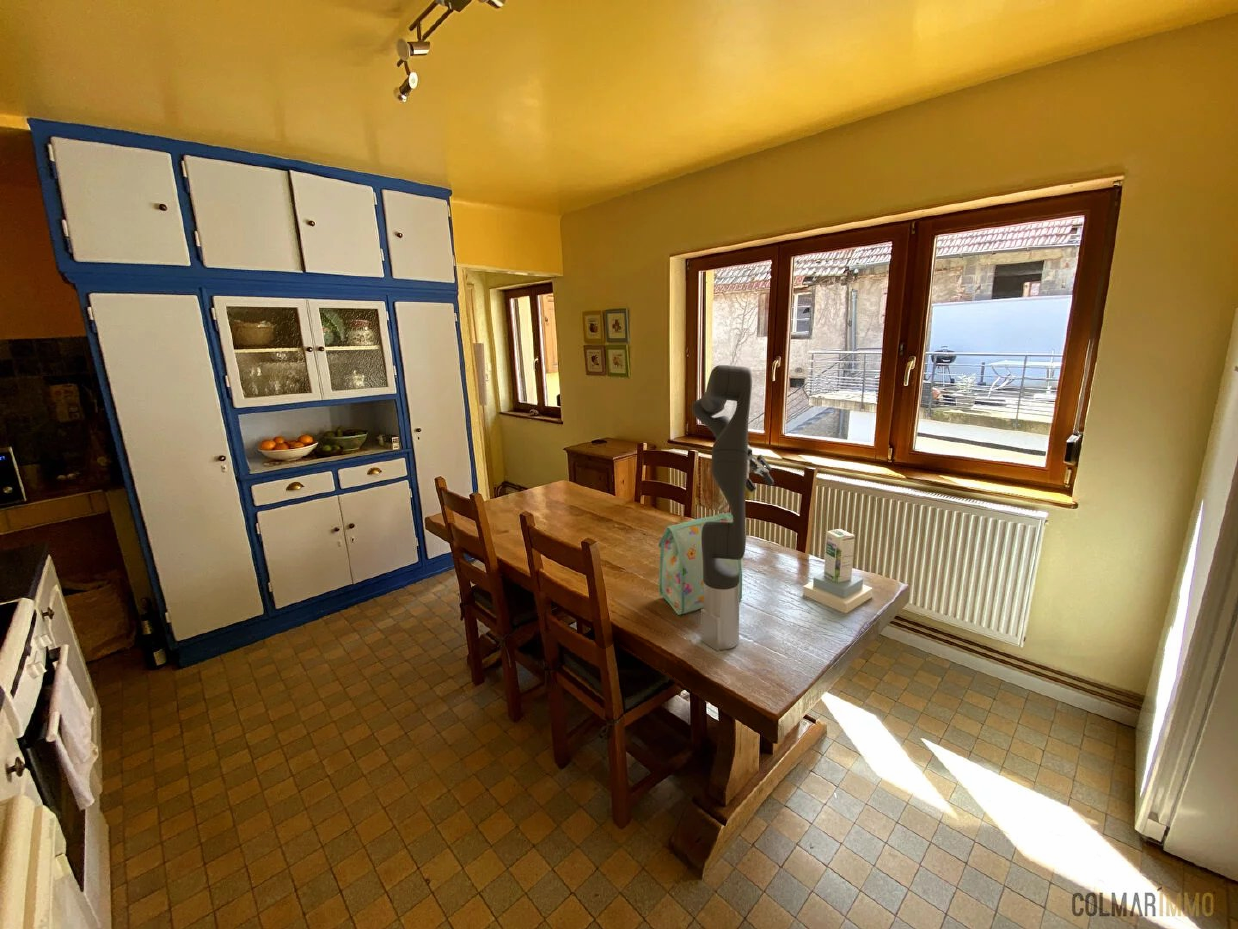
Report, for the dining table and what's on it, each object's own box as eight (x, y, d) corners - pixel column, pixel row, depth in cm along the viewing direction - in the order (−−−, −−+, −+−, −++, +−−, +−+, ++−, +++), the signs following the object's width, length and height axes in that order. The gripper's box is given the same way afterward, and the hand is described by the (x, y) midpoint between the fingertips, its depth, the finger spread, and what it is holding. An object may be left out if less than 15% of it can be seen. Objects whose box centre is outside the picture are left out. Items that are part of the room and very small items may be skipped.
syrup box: (822, 575, 154) (825, 531, 150) (838, 571, 156) (841, 527, 152) (836, 583, 148) (839, 538, 145) (852, 579, 150) (855, 534, 147)
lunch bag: (718, 579, 167) (717, 502, 161) (747, 602, 153) (748, 518, 146) (655, 595, 160) (652, 515, 153) (680, 621, 145) (677, 533, 138)
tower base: (845, 613, 144) (847, 594, 142) (802, 594, 155) (803, 577, 153) (871, 597, 152) (873, 579, 150) (829, 580, 163) (830, 563, 161)
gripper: (725, 442, 154) (754, 486, 148) (756, 435, 162) (785, 476, 156) (712, 456, 160) (740, 499, 153) (743, 448, 167) (770, 489, 161)
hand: (763, 487), depth 155 cm, fingers open, 8 cm apart
